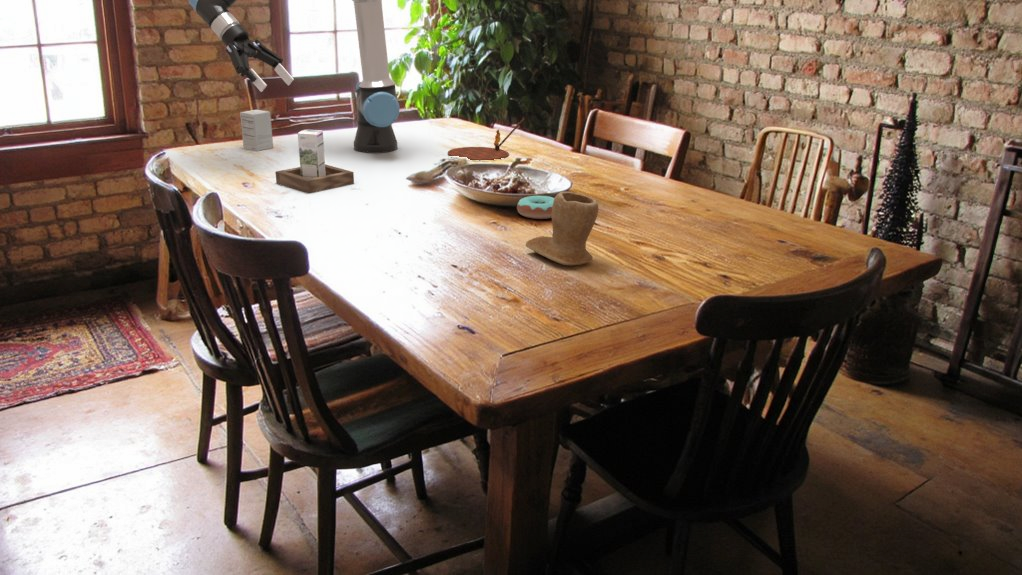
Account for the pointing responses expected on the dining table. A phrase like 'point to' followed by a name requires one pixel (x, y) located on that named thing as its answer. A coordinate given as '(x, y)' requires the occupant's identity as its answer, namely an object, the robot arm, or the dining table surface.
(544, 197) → the donut
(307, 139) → the syrup box
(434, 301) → the dining table surface
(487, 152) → the incense holder
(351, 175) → the walnut tray
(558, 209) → the brown hollow piece
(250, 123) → the supplement box
